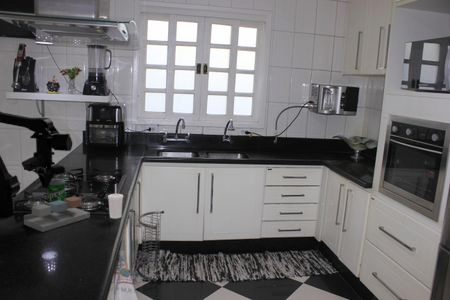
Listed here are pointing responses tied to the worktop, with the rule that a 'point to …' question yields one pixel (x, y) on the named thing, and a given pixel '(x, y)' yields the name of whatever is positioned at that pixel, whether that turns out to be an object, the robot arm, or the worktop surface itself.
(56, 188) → the soda can
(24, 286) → the worktop surface
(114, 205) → the beverage cup
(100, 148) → the worktop surface
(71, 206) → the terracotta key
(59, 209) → the light blue block
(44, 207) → the grey block
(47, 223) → the panel
